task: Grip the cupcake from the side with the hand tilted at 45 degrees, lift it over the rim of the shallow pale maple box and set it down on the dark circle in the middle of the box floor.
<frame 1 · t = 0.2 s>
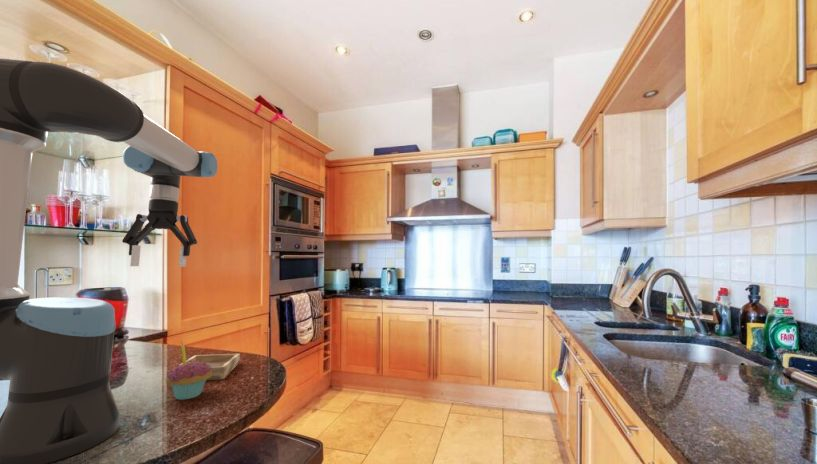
hand: (158, 266, 101), 28 cm above the counter, tool pointing down, fingers open, 13 cm apart
maple box: (207, 372, 86), on the counter
cupcake: (188, 396, 72), on the counter
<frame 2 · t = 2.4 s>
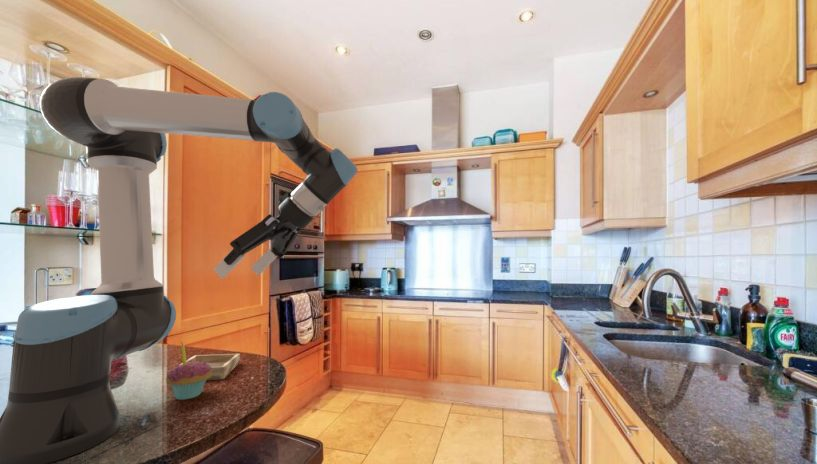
hand: (238, 272, 74), 27 cm above the counter, tool tilted 45°, fingers open, 13 cm apart
nothing on the counter moved.
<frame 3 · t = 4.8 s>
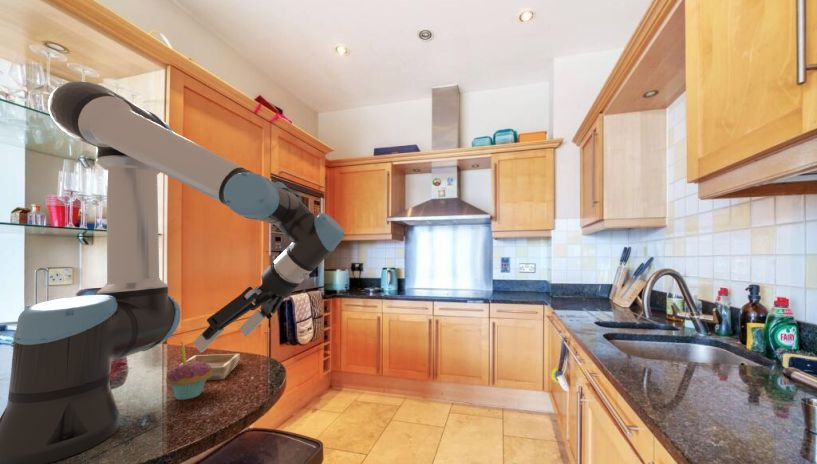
hand: (222, 339, 72), 13 cm above the counter, tool tilted 45°, fingers open, 13 cm apart
nothing on the counter moved.
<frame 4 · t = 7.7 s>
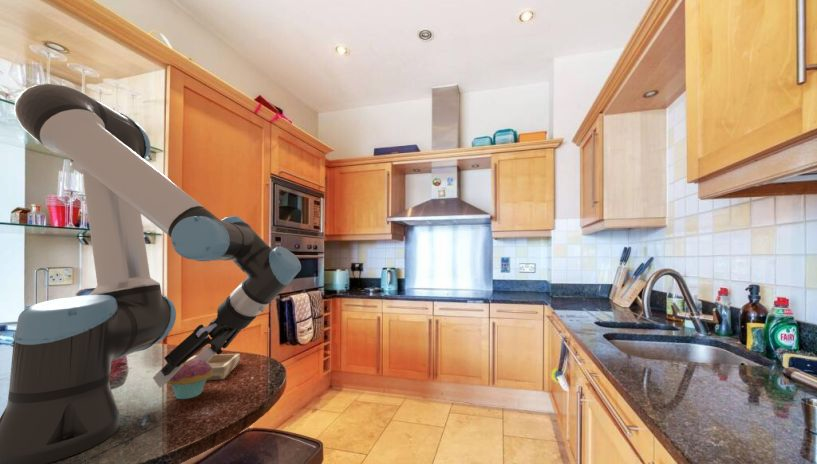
hand: (176, 374, 73), 4 cm above the counter, tool tilted 45°, fingers closed on cupcake, 8 cm apart
cupcake: (188, 395, 72), on the counter, touching gripper
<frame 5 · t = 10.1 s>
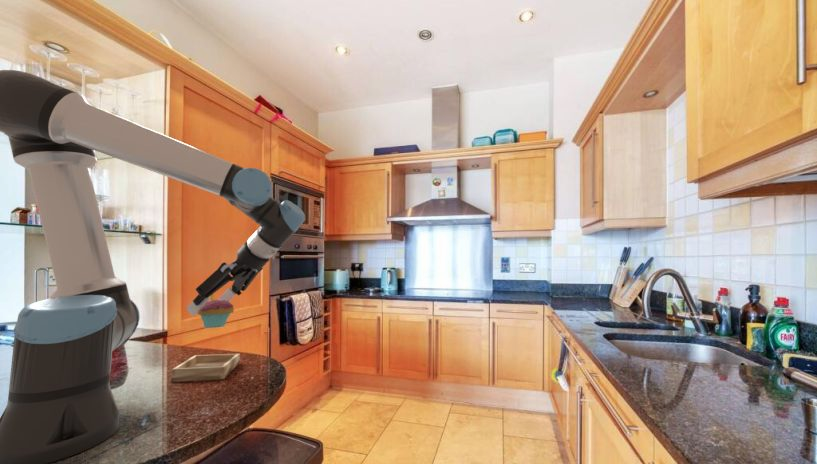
hand: (204, 309, 88), 17 cm above the counter, tool tilted 45°, fingers closed on cupcake, 8 cm apart
cupcake: (214, 327, 87), point 12 cm above the counter, touching gripper
when the fingers open (7 cm above the counter, at t = 12.6 s): cupcake stays where it is, resting on maple box.
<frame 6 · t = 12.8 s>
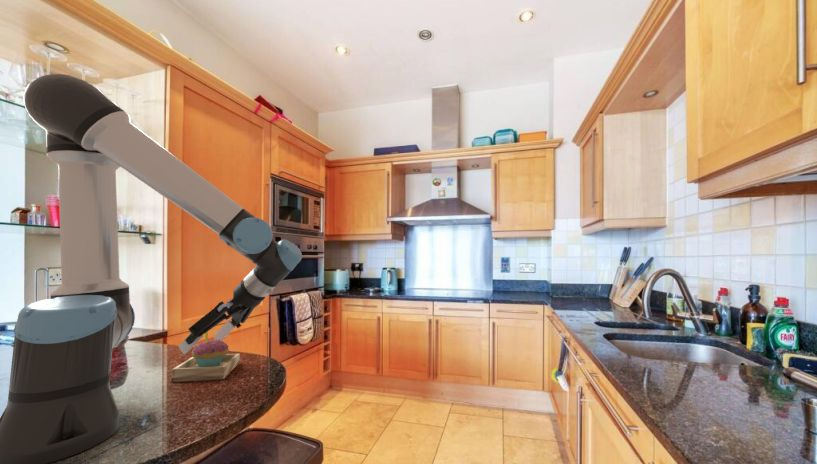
hand: (200, 344, 87), 7 cm above the counter, tool tilted 45°, fingers open, 11 cm apart
cupcake: (208, 368, 87), point 1 cm above the counter, touching maple box
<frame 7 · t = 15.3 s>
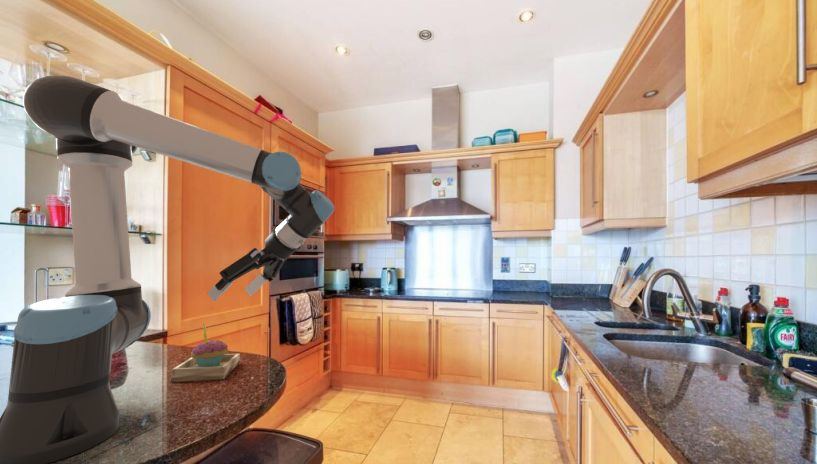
hand: (230, 294, 86), 21 cm above the counter, tool tilted 45°, fingers open, 13 cm apart
nothing on the counter moved.
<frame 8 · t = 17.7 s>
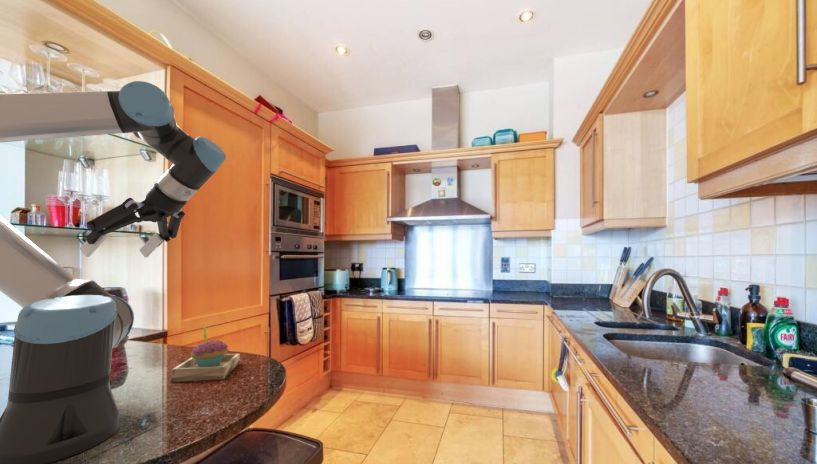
hand: (116, 253, 79), 32 cm above the counter, tool tilted 45°, fingers open, 13 cm apart
nothing on the counter moved.
at the end: cupcake inside the target area on the maple box (0.1 cm from its centre), point 0.9 cm above the maple box's base; cupcake tilted 0°; the gripper is holding nothing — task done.
